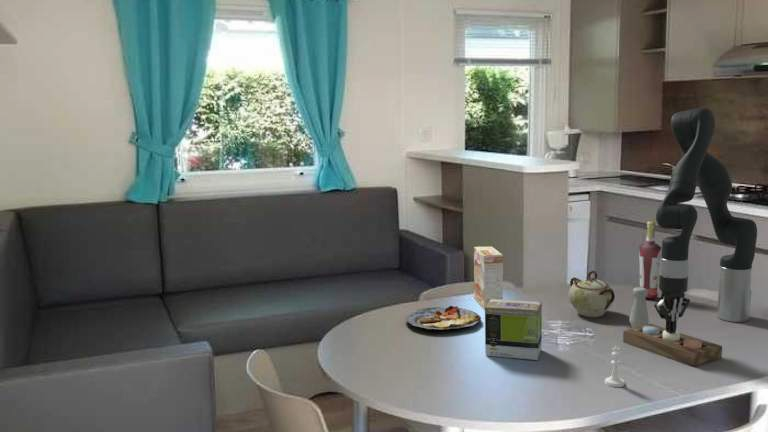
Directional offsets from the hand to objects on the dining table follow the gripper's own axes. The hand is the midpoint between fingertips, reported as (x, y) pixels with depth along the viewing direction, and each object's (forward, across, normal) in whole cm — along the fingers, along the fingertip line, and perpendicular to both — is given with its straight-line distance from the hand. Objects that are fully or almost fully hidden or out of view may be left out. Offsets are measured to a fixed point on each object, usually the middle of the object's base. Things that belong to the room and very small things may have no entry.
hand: (670, 332), depth 201 cm
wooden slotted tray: (+5, 0, 0) cm, 5 cm away
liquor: (+5, -38, -39) cm, 55 cm away
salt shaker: (+5, -8, -18) cm, 20 cm away
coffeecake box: (+6, +14, -66) cm, 68 cm away
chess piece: (+6, +32, +8) cm, 33 cm away
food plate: (+6, +40, -57) cm, 70 cm away
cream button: (+3, 0, 0) cm, 3 cm away
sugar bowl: (+5, -7, -37) cm, 38 cm away
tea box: (+6, +39, -23) cm, 45 cm away
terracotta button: (+4, 0, +7) cm, 8 cm away
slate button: (+4, 0, -7) cm, 8 cm away
